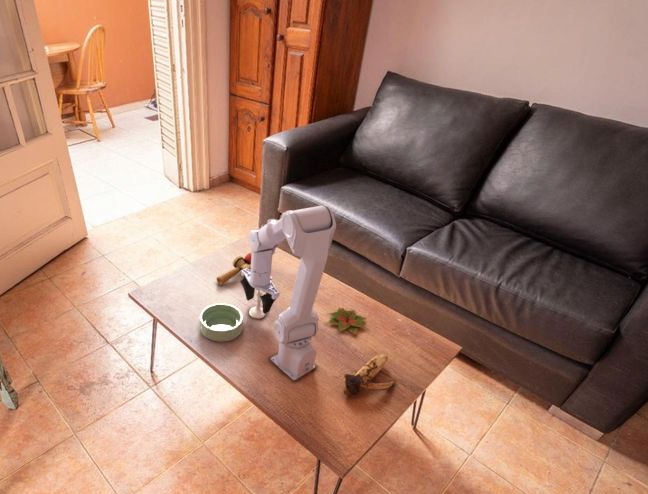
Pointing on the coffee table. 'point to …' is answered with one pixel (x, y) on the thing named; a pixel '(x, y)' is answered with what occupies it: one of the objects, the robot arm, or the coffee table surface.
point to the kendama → (236, 268)
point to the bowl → (221, 322)
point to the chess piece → (257, 307)
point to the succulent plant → (347, 320)
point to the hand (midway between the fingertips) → (257, 305)
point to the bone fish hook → (366, 377)
